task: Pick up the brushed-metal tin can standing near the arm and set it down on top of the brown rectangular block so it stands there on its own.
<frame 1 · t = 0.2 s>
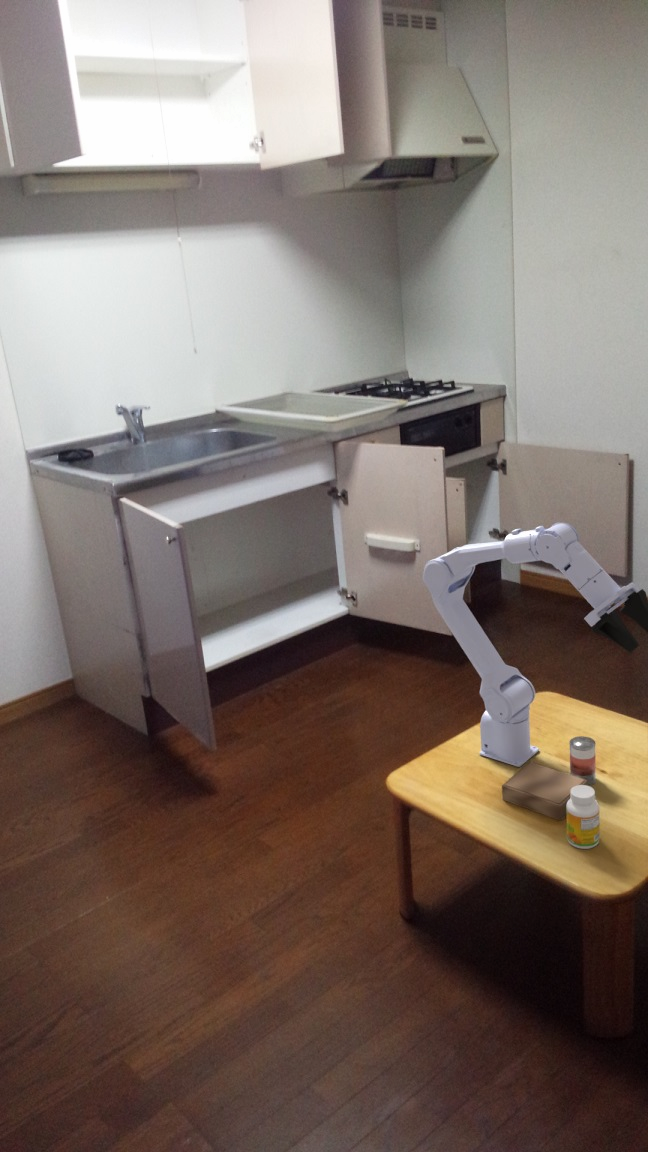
hand: (645, 640, 154), 31 cm above the table, tool tilted 45°, fingers open, 7 cm apart
brown rectangular block: (544, 796, 167), on the table
supplement bottle: (583, 841, 154), on the table
tin can: (582, 779, 171), on the table
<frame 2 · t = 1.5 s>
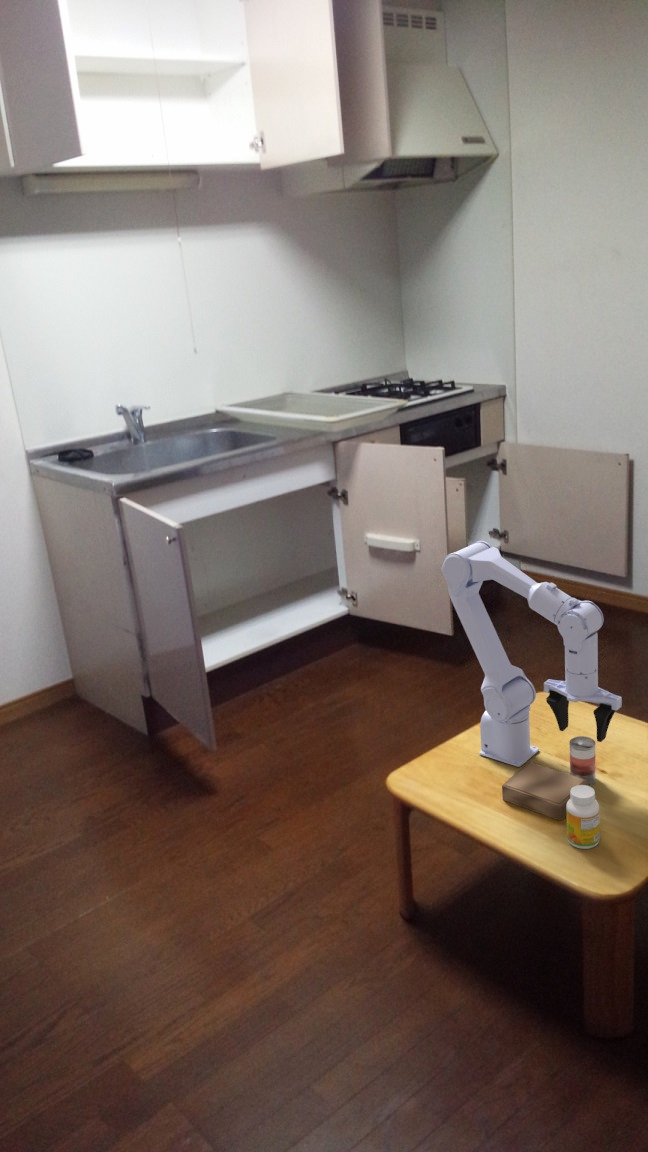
hand: (582, 733, 168), 10 cm above the table, tool pointing down, fingers open, 7 cm apart
nothing on the table moved.
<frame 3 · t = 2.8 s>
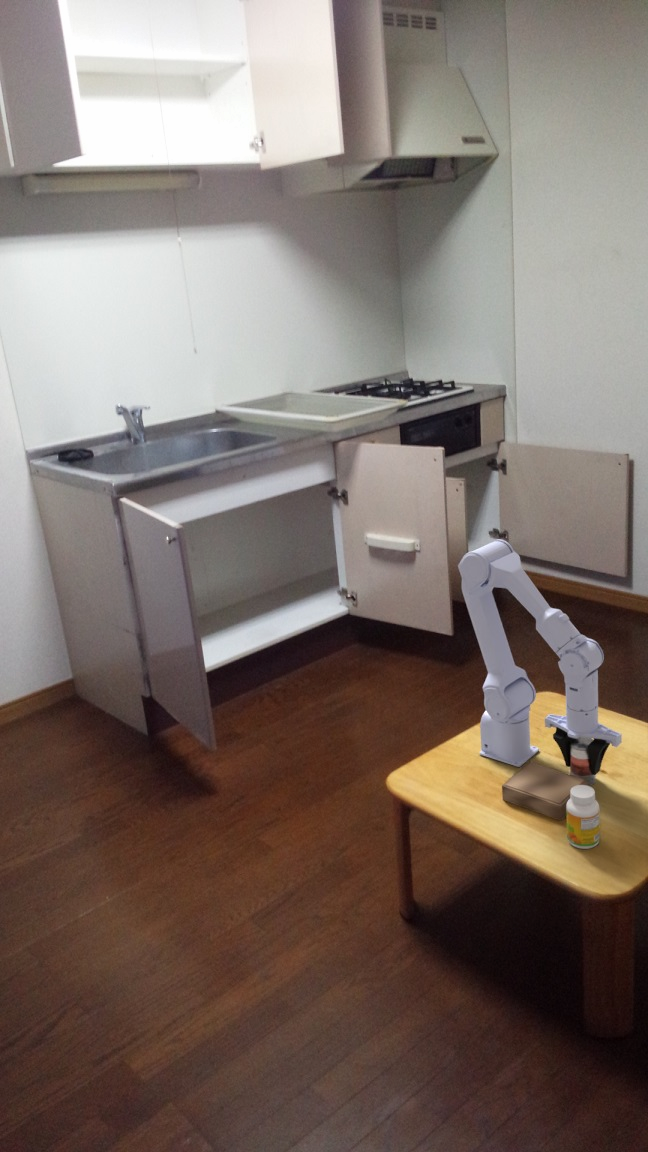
hand: (582, 768, 170), 2 cm above the table, tool pointing down, fingers closed on tin can, 5 cm apart
tin can: (582, 779, 171), on the table, touching gripper
everything else where it was.
when the fingers open (7 cm above the table, at t = 5.5 s): tin can stays where it is, resting on brown rectangular block.
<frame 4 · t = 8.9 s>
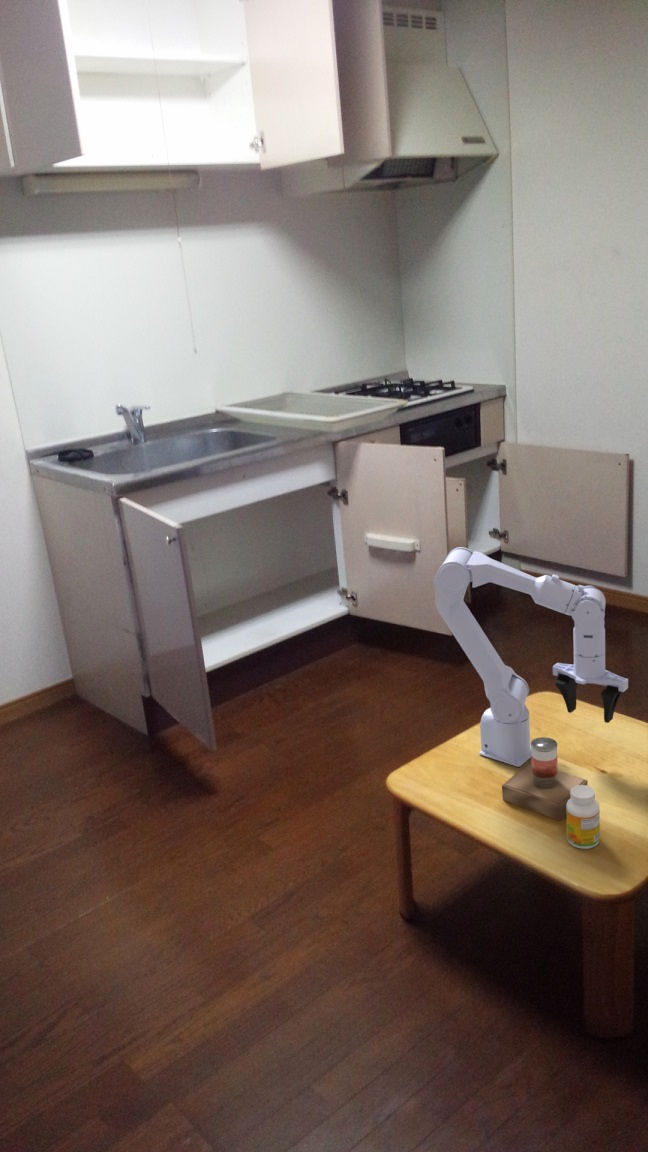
hand: (590, 715, 174), 10 cm above the table, tool pointing down, fingers open, 7 cm apart
tin can: (545, 781, 166), point 3 cm above the table, touching brown rectangular block
everything else where it was.
at the end: tin can inside the target area on the brown rectangular block (0.2 cm from its centre), point 3.1 cm above the brown rectangular block's base; tin can tilted 0°; the gripper is holding nothing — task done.
